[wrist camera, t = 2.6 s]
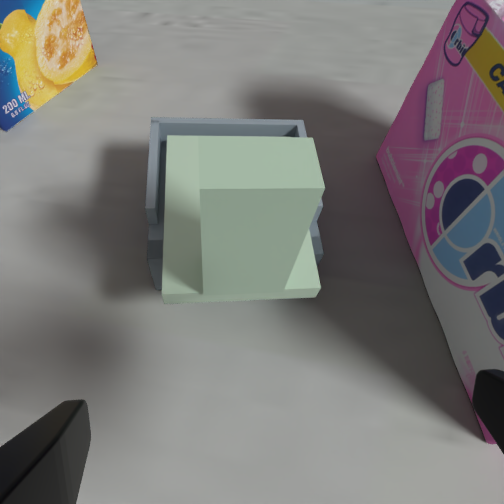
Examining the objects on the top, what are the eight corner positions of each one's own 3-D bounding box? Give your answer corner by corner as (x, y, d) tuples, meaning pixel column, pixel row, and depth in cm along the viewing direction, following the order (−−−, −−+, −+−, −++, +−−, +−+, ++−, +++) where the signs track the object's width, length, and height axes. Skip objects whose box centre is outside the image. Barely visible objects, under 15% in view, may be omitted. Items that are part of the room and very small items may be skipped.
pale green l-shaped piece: (315, 299, 20) (383, 187, 12) (164, 306, 19) (132, 189, 11) (287, 150, 26) (321, 7, 18) (168, 149, 25) (149, -3, 17)
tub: (308, 283, 25) (331, 239, 20) (156, 289, 24) (142, 244, 19) (288, 175, 30) (303, 119, 25) (160, 175, 29) (151, 117, 24)
